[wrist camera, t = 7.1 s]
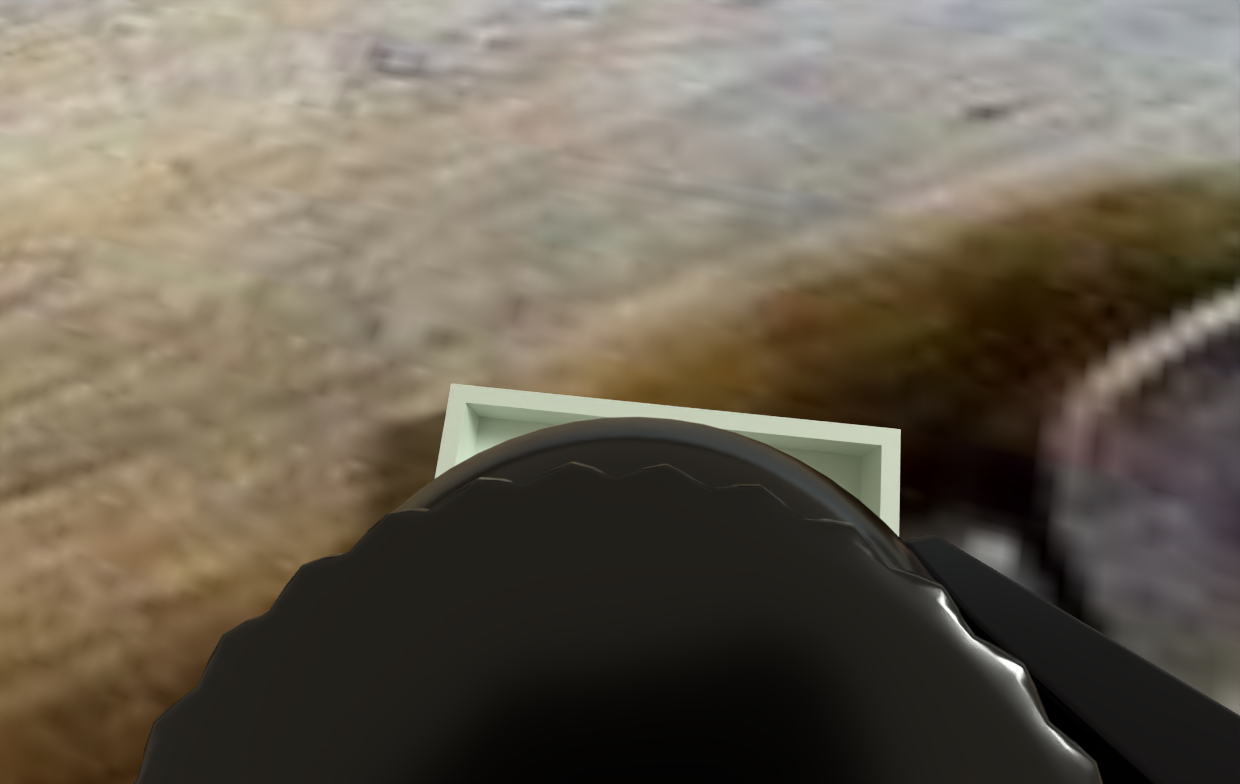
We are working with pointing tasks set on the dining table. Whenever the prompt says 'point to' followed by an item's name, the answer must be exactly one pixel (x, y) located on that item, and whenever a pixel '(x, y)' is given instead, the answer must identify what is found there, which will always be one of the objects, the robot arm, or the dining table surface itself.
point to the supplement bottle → (616, 638)
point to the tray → (833, 449)
